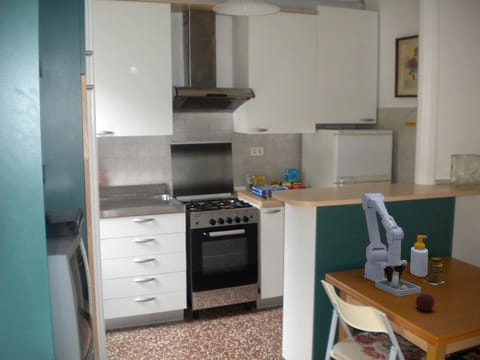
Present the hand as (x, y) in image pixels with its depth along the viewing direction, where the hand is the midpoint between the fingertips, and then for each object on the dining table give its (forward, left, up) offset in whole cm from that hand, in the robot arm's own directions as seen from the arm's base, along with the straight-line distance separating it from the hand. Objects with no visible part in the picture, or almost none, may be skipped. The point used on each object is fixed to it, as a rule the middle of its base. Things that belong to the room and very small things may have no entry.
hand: (393, 280), depth 237 cm
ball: (+7, 0, -3) cm, 8 cm away
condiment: (+1, +26, -4) cm, 26 cm away
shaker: (0, 0, -2) cm, 2 cm away
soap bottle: (-13, +30, -4) cm, 33 cm away
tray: (+3, 0, -4) cm, 5 cm away
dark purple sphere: (+27, -8, -4) cm, 28 cm away
